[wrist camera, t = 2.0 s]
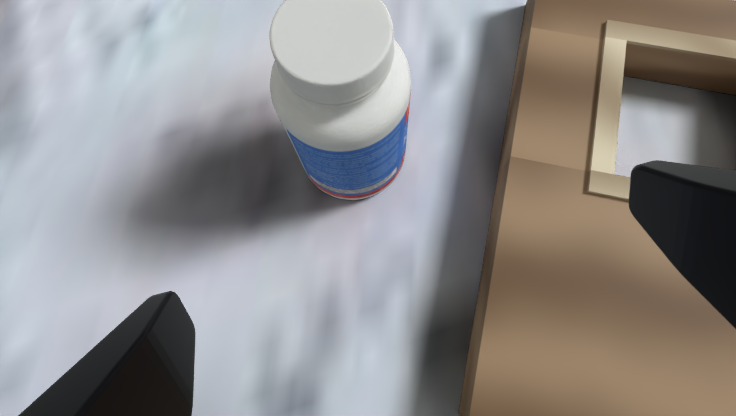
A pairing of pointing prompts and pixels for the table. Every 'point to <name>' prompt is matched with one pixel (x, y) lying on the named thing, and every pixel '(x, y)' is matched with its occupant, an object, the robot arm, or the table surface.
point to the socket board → (594, 227)
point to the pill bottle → (341, 92)
